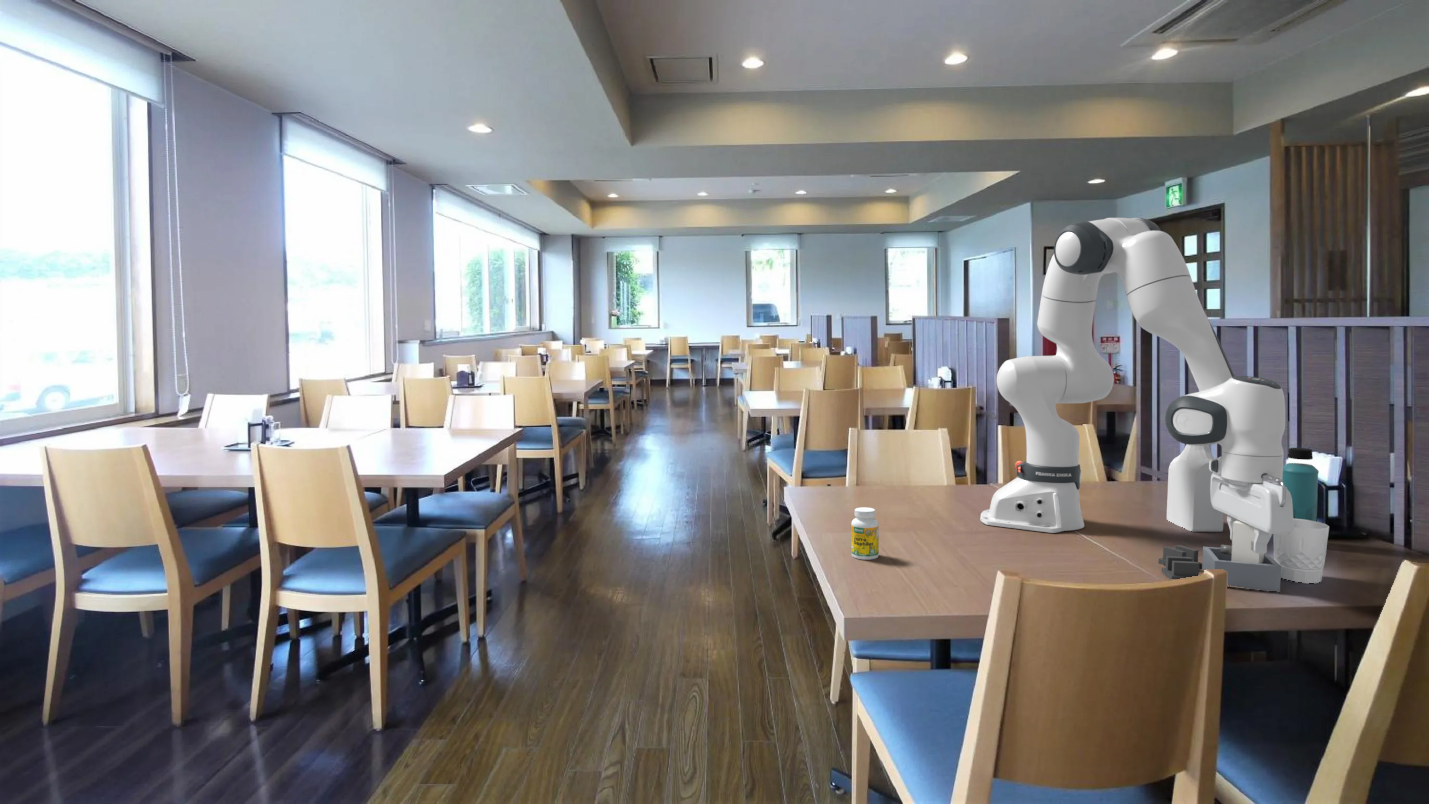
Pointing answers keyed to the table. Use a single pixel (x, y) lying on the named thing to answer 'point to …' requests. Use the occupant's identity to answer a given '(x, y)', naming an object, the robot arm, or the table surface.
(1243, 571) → the gray square tray
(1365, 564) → the table surface
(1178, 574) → the clip
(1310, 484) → the beverage bottle
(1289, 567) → the white cup
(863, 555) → the supplement bottle
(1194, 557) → the clip
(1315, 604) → the table surface
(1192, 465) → the soap bottle
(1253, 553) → the block
